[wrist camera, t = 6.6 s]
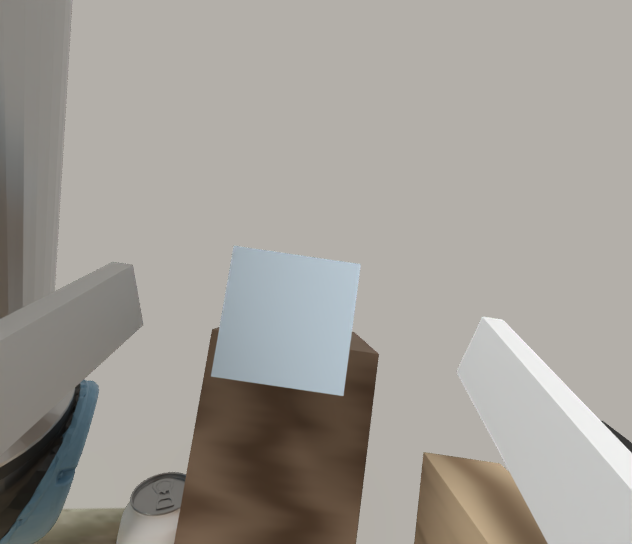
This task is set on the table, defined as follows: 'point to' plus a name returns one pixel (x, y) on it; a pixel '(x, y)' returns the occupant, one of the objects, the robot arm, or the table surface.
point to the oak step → (471, 504)
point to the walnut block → (278, 459)
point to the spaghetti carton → (287, 321)
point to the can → (153, 511)
